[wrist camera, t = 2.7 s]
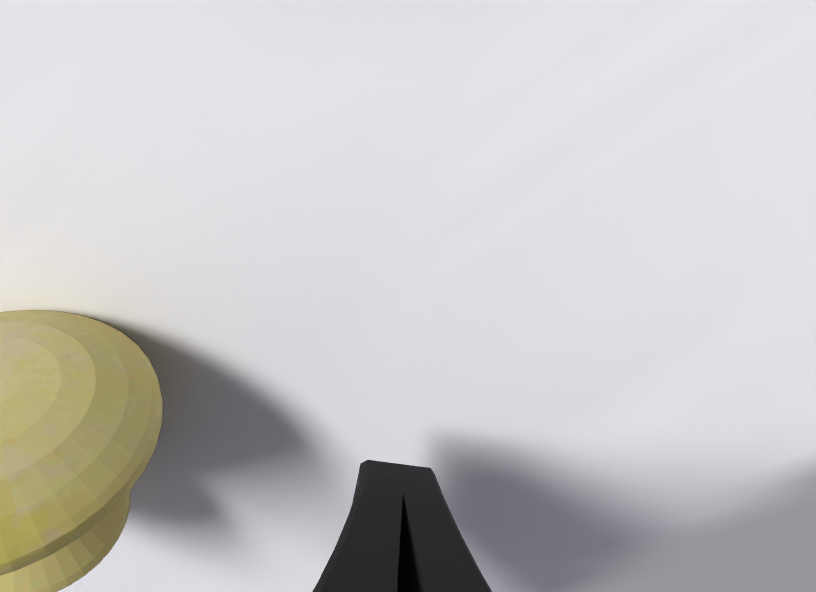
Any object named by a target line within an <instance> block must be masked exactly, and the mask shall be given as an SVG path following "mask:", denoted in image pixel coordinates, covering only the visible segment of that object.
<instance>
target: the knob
mask: <svg viewBox="0 0 816 592" xmlns="http://www.w3.org/2000/svg"><path fill="white" fill-rule="evenodd" d="M162 405H163V401H162V395H161V390H160V385H159V380H158V377H157V375H156V373H155V371H154V369H153V367H152V365H151V363H150V361H149V359H148V358H147V356H146V355H145V354H144V353H143V351H142V350H141V349H140V348H139V346H138V345H137V344H136V343H134V342H133V341H132V340H131V339H129V338H128V337H127V336H126V335H124V334H123V333H122V332H120V331H118V330H116V329H115V328H113V327H111V326H109V325H107V324H105V323H103V322H100V321H97V320H94V319H91V318H88V317H85V316H81V315H76V314H71V313H65V312H60V311H43V310H22V311H5V312H0V592H57V591H59V590H61V589H63V588H65V587H67V586H69V585H71V584H72V583H74V582H75V581H77V580H79V579H80V578H82V577H83V576H85V575H86V574H87V573H88V572H89V571H91V570H92V569H93V568H94V567H95V566H97V565H98V564H99V563H100V562H101V560H102V559H103V558H104V557H105V556H106V555H107V554H108V553H109V552H110V550H111V549H112V547H113V546H114V544H115V543H116V541H117V540H118V538H119V536H120V534H121V532H122V530H123V528H124V526H125V524H126V520H127V517H128V513H129V508H130V491H131V489H132V488H133V486H134V485H135V484H136V482H137V481H138V479H139V478H140V476H141V475H142V474H143V472H144V471H145V469H146V467H147V465H148V463H149V461H150V458H151V456H152V454H153V452H154V450H155V448H156V444H157V441H158V437H159V433H160V429H161V425H162Z"/></svg>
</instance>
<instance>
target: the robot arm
mask: <svg viewBox="0 0 816 592" xmlns="http://www.w3.org/2000/svg"><path fill="white" fill-rule="evenodd" d="M313 592H492V591H491V589H490V588H489V586H488V584H487V582H486V581H485V579H484V577H483V575H482V574H481V572H480V570H479V568H478V566H477V564H476V563H475V561H474V559H473V557H472V555H471V553H470V551H469V549H468V547H467V545H466V543H465V541H464V540H463V538H462V536H461V534H460V531H459V529H458V527H457V525H456V523H455V521H454V519H453V517H452V514H451V512H450V510H449V508H448V506H447V503H446V501H445V499H444V496H443V494H442V492H441V489H440V487H439V484H438V482H437V479H436V476H435V474H434V472H433V471H432V470H431V468H426V467H418V466H410V465H403V464H395V463H387V462H380V461H372V460H367V461H365V462H363V463H361V464H360V469H359V474H358V479H357V484H356V489H355V494H354V499H353V504H352V507H351V510H350V513H349V516H348V518H347V520H346V523H345V525H344V528H343V530H342V533H341V535H340V537H339V540H338V542H337V544H336V547H335V549H334V551H333V553H332V555H331V557H330V559H329V561H328V563H327V565H326V567H325V569H324V571H323V573H322V575H321V577H320V579H319V581H318V583H317V585H316V587H315V588H314V590H313Z"/></svg>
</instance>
